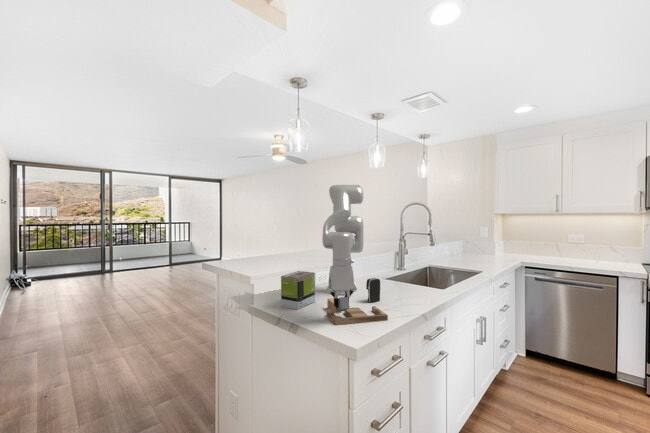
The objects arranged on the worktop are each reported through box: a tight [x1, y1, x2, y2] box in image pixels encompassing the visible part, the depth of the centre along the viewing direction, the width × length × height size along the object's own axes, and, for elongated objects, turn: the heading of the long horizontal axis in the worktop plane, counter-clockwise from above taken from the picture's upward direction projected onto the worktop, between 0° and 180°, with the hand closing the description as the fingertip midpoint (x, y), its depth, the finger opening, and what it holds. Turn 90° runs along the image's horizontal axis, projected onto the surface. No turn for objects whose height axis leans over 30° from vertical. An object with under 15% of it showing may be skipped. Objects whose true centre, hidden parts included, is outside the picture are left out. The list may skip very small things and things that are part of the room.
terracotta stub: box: [326, 297, 342, 314], centre depth 135 cm, size 8×4×4 cm, turn 20°
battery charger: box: [365, 277, 381, 303], centre depth 150 cm, size 7×4×11 cm, turn 125°
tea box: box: [280, 270, 316, 310], centre depth 144 cm, size 15×10×15 cm
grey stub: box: [335, 296, 350, 313], centre depth 124 cm, size 8×4×4 cm, turn 15°
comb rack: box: [326, 305, 389, 326], centre depth 126 cm, size 12×22×2 cm, turn 105°
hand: (341, 306), depth 125 cm, fingers closed on grey stub, 3 cm apart
